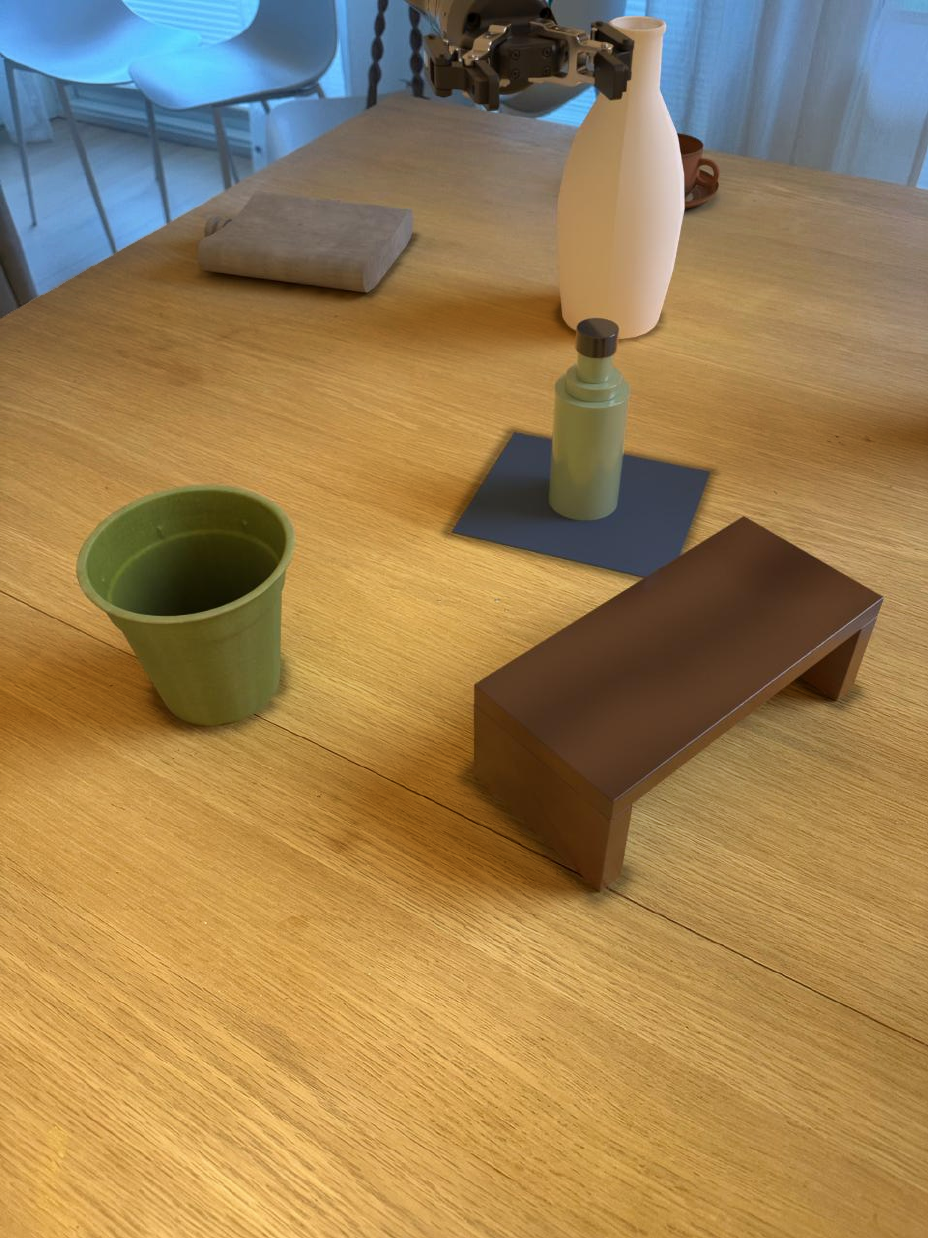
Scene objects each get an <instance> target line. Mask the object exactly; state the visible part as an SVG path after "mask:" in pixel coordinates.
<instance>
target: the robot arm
mask: <svg viewBox="0 0 928 1238" xmlns="http://www.w3.org/2000/svg"><path fill="white" fill-rule="evenodd" d="M403 1H404V2H405V3H406V4H407V5H409V6H410V8H412V9H414V10H415V11H416V12H417V13H418V14H420V15H421V16H422V17H423V18H424V19H425V20H426V21H427V23H429V24H430V26H431V27H432V29H433V30H434V32H435V33H436V34H435V33H428V34H425V35H423V36H422V43H423V44H422V46H423V74H424V76H425V78H426V81H427V82H428V84H429V86H430V87H431V89H432V92H433V94H434V95H435V96H436V97H439V98H442V99H443V98H448V97H451V96H452V95H453V90H457V91H458V90H459V91H460V90H461V91H462V96H463V98H464V97H465V98H468V99H471V100H472V101H473V102H474V104H476V105H479V106H482V107H483V108H484V109H485V111H486V112H496V111H499V110H500V96H511V95H514V94H518V93H521V92H523V91H525V90H527V89H529V88H530V87H531V86H533V85H534V84H539V85H541V84H543V83H546V82H547V83H549V84H553V85H554V84H555V85H558V86H562V87H563V86H564V87H567V88H574V87H576V86H579V85H580V84H588V85H593V86H594V88H596V89H597V90H598V91H599V93H600V92H601V93H602V94H603V95H605V96H606V97H607V98H608V99H609V100H620V99H621V98H622V94H623V92H626V90H627V81H629V80H631V76H632V71H631V70H632V59H633V49H634V44H635V41H634V40H632V39H631V38H629V37H628V36H626V35H625V34H623V33H621V32H620V31H618V30H617V29H615V28H614V27H612V26H610V25H609V23H608V22H604V21H603V20H596V21H594V22H591V23H590V34H588V33H587V32H586V31H585V30H583V29H577V28H572V27H569V26H563V25H558V22H557V20H556V17H555V14H554V12H553V10H552V8H551V6H550V4H549V2H548V1H547V0H403ZM587 56H588V66H589V67H590V66H591V67H593V70H589V69H588V68H587ZM566 66H567V71H566V72H565V71H562V69H563V68H564V67H566Z"/></svg>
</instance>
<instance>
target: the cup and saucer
mask: <svg viewBox="0 0 928 1238" xmlns="http://www.w3.org/2000/svg"><path fill="white" fill-rule="evenodd" d="M677 136H678V141H679V147H680V153H681V159H682V165H683V171H684V207H685V209H684V210H686V209H692V208H696V207H698V206H701V205H703V204H705V203H708V201H710V200H711V199H712V198H714V197H715V196H716V194H717V193H718V191H719V187H720V184H719V179H720V176H721V175H720V168H719V166H718V164H717V163H716V162H715V161H714V160H713V159H710V158H706V157H703V152H704V143H703V141H702V140H701V139H699V138H697V137H695V136H692V135H689V134H686V133H679V132H677ZM701 166H708V167H709V168H711V169H712V172H713V174H711V173H710V172H707V171H705V170H703V169H701ZM690 194H691V195H692V199H691V200H689V201H686V200H687V199H688V196H689V195H690Z"/></svg>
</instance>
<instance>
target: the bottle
mask: <svg viewBox="0 0 928 1238" xmlns="http://www.w3.org/2000/svg"><path fill="white" fill-rule="evenodd" d="M608 24H609V25H610V26H612V27H614V28H615V29H617V30H618V31H620V32H621V33H623V34H625V35H626V36H628V37H629V38H631V39H632V40H634V41H635V44H634V49H633V59H632V70H631V71H632V76H631V80H629V81H627V90H626V92H623V94H622V98H621V99H620V100H609V99H608V98H607V97H606V96H605V95H603V94H602V93H601V92H600V91H599V94H598V96H597V97H596V98H595V100H594V102H593V104H592V105H591V107H590V109H589V110H588V113H587V114H586V116H584V119H583V121H582V122H581V124H580V125H579V126H578V129H577V131H576V133H575V136H574V139H573V141H572V144H571V146H570V150H569V153H568V155H567V158H566V160H565V164H564V167H563V172H562V178H561V182H560V187H559V192H558V197H557V254H556V255H557V259H556V260H557V261H556V262H557V274H558V276H557V277H558V285H559V297H560V303H561V304H560V306H561V316H562V319H563V320H564V322H565V323H566V325H567V326H568V327H569V328H571V329H572V330H574V332H576V328H577V325H578V323H579V322H581V321H583V320H585V319H589V318H604V319H608V320H611V321H613V322H615V323H616V324H617V325H618V327H619V337H618V340H625V339H632V338H636V337H639V336H642V335H645V334H647V333H648V332H650V331H651V330H653V329H654V328H655V327H656V326H657V324H658V322H659V320H660V316H661V313H662V310H663V307H664V303H665V300H666V296H667V293H668V290H669V285H670V282H671V279H672V275H673V272H674V267H675V263H676V257H677V251H678V246H679V242H680V236H681V230H682V225H683V219H684V213H685V210H686V209H685V207H684V202H685V201H684V171H683V165H682V159H681V153H680V147H679V141H678V136H677V133H678V132H677V129H676V128H675V125H674V122H673V120H672V117H671V115H670V112H669V109H668V107H667V105H666V102H665V100H664V97H663V94H662V92H661V74H662V58H663V44H664V43H663V42H664V34H665V33H666V31H667V23H666V21H664V20H663V19H660V18H656V17H653V16H647V15H625V16H618V17H615V18H613V19H611V20H610V21H609V22H608Z"/></svg>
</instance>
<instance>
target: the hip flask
mask: <svg viewBox="0 0 928 1238" xmlns="http://www.w3.org/2000/svg"><path fill="white" fill-rule="evenodd" d="M413 229H414V213H413V210H412V209H411V208H405V207H404V208H403V207H397V206H396V207H394V206H387V205H379V204H378V205H377V204H371V203H361V202H354V201H353V202H351V201H344V200H335V199H327V198H318V197H311V196H310V197H309V196H301V195H294V194H285V193H275V192H268V191H267V192H266V191H258V190H255V191H254V193H253V194H252V196H251V197H250V198H249V200H248V201H247V202H246V204H245V205H244V206H243V208H242V209H241V210H240V211H239V212H238V213H237V214H236V215H235V216H234V217H233V218H232V219H231V218H226V217H222V216H221V215H215V214H214V215H213V214H212V215H209V216H208V218H207V219H206V221H205V225H204V234H203V235H204V237H203V238H201V240H200V241H199V243H198V247H197V257H196V258H197V263H198V266H199V269H200V270H202V271H204V272H211V273H219V274H225V275H234V276H242V277H249V278H256V279H263V280H271V281H277V282H278V281H279V282H285V283H293V284H299V285H307V286H315V287H323V288H329V289H335V290H336V289H337V290H345V291H351V292H352V291H353V292H360V293H365V294H368V293H369V292H371V291H372V290H373V289H375V288H376V286H377V285H378V283H379V282H380V281H381V280H382V279H383V277H384V276H385V274H387V272H388V271H389V269H390V268H391V266H393V264H394V263H395V262H396V260H397V259H398V258H399V256H400V255H401V253H402V252H403V251H404V249H405V248H406V247H407V246H408V243H409V242H410V240H411V238H412V234H413V232H414V231H413Z"/></svg>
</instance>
